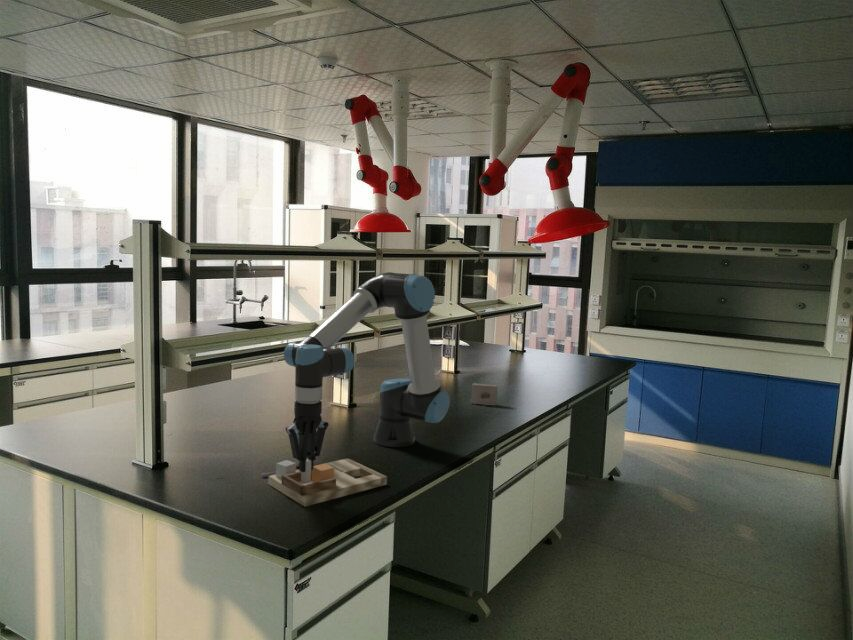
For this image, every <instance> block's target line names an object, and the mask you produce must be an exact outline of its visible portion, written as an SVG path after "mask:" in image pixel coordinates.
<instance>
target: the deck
mask: <svg viewBox="0 0 853 640" xmlns="http://www.w3.org/2000/svg"><path fill="white" fill-rule="evenodd" d="M325 463H326V464H328V465H330V466H332V467H334V478H335V479H336V487H335V488H332V489H328V490H324V491H320V492H316V493H312V494H308V495H304V496H301V495H300V494H298V493H296V492H295V491H293V490H291V489H290V488H288V487H286V486H285V485H283V484H282V478H279V477H276V475H271V476H269V477H268V480H267V481H268V485H269V486H271V488H274V489H275V490H277V491H278V492H281V494H283V495H285V496H287V497H288V498H290V499H291V500H292V501H295V502H296V503H298V504H299V505H301V506H302V507H308V506H313V505H315V504H319V503H323V502H326V501H331V500H335V499H338V498H342V497H346V496H349V495H353V494H357V493H361V492H364V491H369V490H371V489H375V488H378V487H382V486H386V485H388V484H387V483H388V476H387V475H385V474H383V473H380V472H378V471H376V470H374V469H372V468H371V467H370V468H369V467H367V466H365V465H363V464H361V463H359V462H356V461H355V460H353V459H350V458H349V457H348V458H343V459H338V460H335V461H330V462H324V463H323V464H325ZM321 464H322V463H319V464H318V465H321ZM316 465H317V464H315V465H314V466H316ZM299 471H300V470H299V468H298V469H296V472H299ZM298 482H299V483H301V484H302V485H307V484H305V483H304V482H302V481H298ZM311 483H314V482H312V478H311ZM311 483H308V484H311Z"/></svg>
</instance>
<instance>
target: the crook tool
mask: <svg viewBox="0 0 853 640" xmlns="http://www.w3.org/2000/svg"><path fill="white" fill-rule="evenodd" d="M271 475H276V470H274V471H267V472H262V473H261V472H260V477H261V478H262V479H264V478H269V476H271Z"/></svg>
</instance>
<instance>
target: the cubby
mask: <svg viewBox="0 0 853 640" xmlns="http://www.w3.org/2000/svg"><path fill="white" fill-rule="evenodd" d="M311 478H312V470H311ZM298 481H301V471H299V472H294V473H290V474H286V475H282V484H283V485H285V486H286V487H288V488H290V489H291V490H293V491H295V492H296V493H298V494H300V495H301V496H304V495H308V494H312V493H316V492H320V491H324V490H328V489H332V488H335V487H336V479H335V478H332V479H327V480H323V481H319V482H315V483H311V484H307V485H302V484H301V483H299V482H298Z"/></svg>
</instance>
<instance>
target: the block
mask: <svg viewBox="0 0 853 640" xmlns="http://www.w3.org/2000/svg"><path fill="white" fill-rule="evenodd" d="M275 465H276V467H275V468H276V469H275V471H276V477H279V478H282V475H286V474H290V473H294V472H296V470H297V466H296V463H295V462H294V461H291V460H288V459H285V460H282V461H279V462H277V463H276V464H275Z"/></svg>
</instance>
